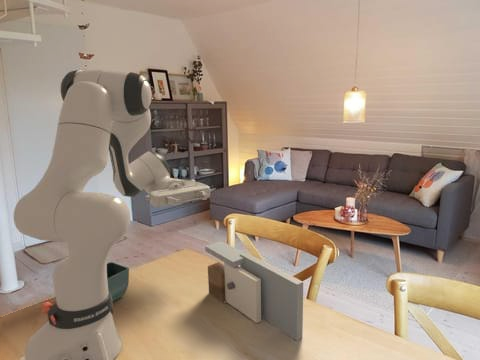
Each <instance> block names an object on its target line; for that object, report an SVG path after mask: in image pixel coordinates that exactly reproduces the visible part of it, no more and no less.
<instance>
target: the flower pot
mask: <svg viewBox="0 0 480 360" xmlns="http://www.w3.org/2000/svg"><path fill="white" fill-rule="evenodd" d="M129 274H130V268H129V267H127V266H125V265H121V264H118V263H117V262H113V261H109V262H107V281H108V290H109V291H110V292H111V296H112V302H113V303H114V302H115V301H117V300H119V299H120V298H122V297H124V296H125V293H126V292H127V290H128V287H129V281H130V280H129V278H130V277H129Z"/></svg>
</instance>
